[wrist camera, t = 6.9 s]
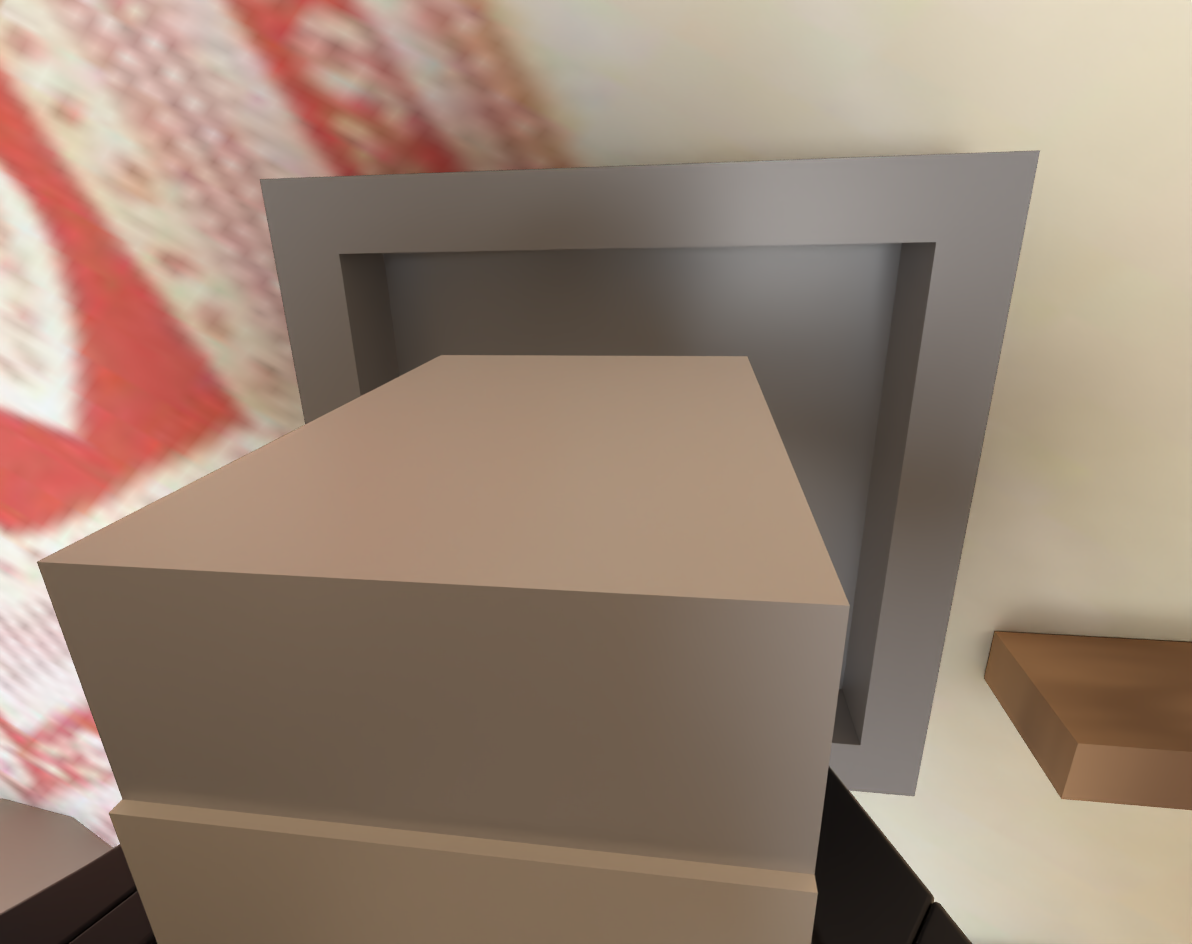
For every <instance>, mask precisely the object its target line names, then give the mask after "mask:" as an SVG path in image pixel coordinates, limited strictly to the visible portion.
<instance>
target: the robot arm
mask: <svg viewBox="0 0 1192 944" xmlns="http://www.w3.org/2000/svg"><path fill="white" fill-rule="evenodd" d="M814 875H815V880H816V886H817V891H818V896H817V903H816V910H815V918H814V925H813V932H812V940H811V944H972V943H971V942H970V940H969V939H968V938H967V937H966V936H965V934H964V933H963V932H962V931H961V929H960V928H959V927H958V926H957V924H956V923H955V922H954V921H953V919H952V918H951V917H950V916H949V914H948V913H947V912H946V911H945V909H944V908H943V907H942V906H941V904H939V903H938V902H934V897H933V895H932V894H931V892H930V891H929V890H928V889H927V887H926V886H925V885H924V884H923V882H922V881H921V880H920V879H919V877H918V876H917V875H916V874H915V872H914V871H913V870H912V869H911V867H910V866H909V865H908V864H907V862H906V861H905V860H904V859H903V857H902V856H901V855H900V854H899V852H898V851H897V850H896V849H895V847H894V846H893V845H892V844H891V842H890V841H889V840H888V839H887V837H886V836H885V835H884V834H883V832H882V831H881V830H880V829H879V827H878V826H877V825H876V824H875V822H874V821H873V820H872V819H871V817H870V816H869V815H868V814H867V812H866V811H865V810H864V809H863V807H862V806H861V805H860V804H859V802H858V801H857V800H856V799H855V797H854V796H853V795H852V794H851V792H850V791H849V790H848V789H847V787H846V786H845V785H844V784H843V782H842V781H841V780H840V779H839V777H838V776H837V775H836V774H835V773H834V771H833V770H832V769H831V768H830V766H829V768H828V775H827V783H826V790H825V798H824V806H823V813H822V821H821V828H820V836H819V844H818V851H817V859H816V866H815V874H814ZM933 902H934V903H933ZM0 944H157V941H156V938H155V936H154V933H153V930H152V928H151V925H150V922H149V920H148V917H147V914H146V912H145V909H144V906H143V903H142V901H141V898H140V895H139V893H138V890H137V887H136V885H135V882H134V879H133V877H132V874H131V871H130V869H129V866H128V863H127V861H126V858H125V855H124V853H123V850H122V847H121V845H120V844H119V845H118V846H116V847H114V848H113V849H111V850H109V851H108V852H106V853H105V854H103V855H101V856H100V857H98V858H96V859H95V860H93V861H91V862H90V863H88V864H86V865H85V866H83V867H81V868H80V869H78V870H76V871H74V872H73V873H71V874H69V875H67V876H66V877H64V878H62V879H60V880H59V881H57V882H55V883H53V884H52V885H50V886H48V887H46V888H45V889H43V890H41V891H39V892H38V893H36V894H34V895H32V896H31V897H29V898H27V899H25V900H23V901H22V902H20V903H18V904H16V905H14V906H13V907H11V908H9V909H7V910H5V911H4V912H2V913H0Z"/></svg>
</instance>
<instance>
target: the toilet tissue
mask: <svg viewBox="0 0 1192 944" xmlns="http://www.w3.org/2000/svg"><path fill="white" fill-rule="evenodd" d="M111 849H113V847H111V846H110V845H109V844H107V843H106V842H105V841H103V840H102V839H101V838H99V837H98V836H97V835H95V834H94V833H93V832H91V831H90V830H89V829H87V828H86V827H85V826H84V825H82V824H81V823H80V822H78V821H77V820H76V819H74V818H73V817H70V816H66V815H62V814H58V813H55V812H51V811H47V810H43V809H40V808H36V807H32V806H28V805H25V804H21V803H17V802H13V801H10V800H6V799H0V913H2V912H4V911H5V910H7V909H9V908H11V907H13V906H14V905H16V904H18V903H20V902H22V901H23V900H25V899H27V898H29V897H31V896H32V895H34V894H36V893H38V892H39V891H41V890H43V889H45V888H46V887H48V886H50V885H52V884H53V883H55V882H57V881H59V880H60V879H62V878H64V877H66V876H67V875H69V874H71V873H73V872H74V871H76V870H78V869H80V868H81V867H83V866H85V865H86V864H88V863H90V862H91V861H93V860H95V859H96V858H98V857H100V856H101V855H103V854H105V853H106V852H108V851H109V850H111Z"/></svg>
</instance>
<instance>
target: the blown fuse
mask: <svg viewBox="0 0 1192 944" xmlns="http://www.w3.org/2000/svg"><path fill="white" fill-rule="evenodd" d="M37 563H38V566H39V569H40V572H41V574H42V577H43V580H44V583H45V585H46V588H47V591H48V594H49V597H50V599H51V602H52V605H53V608H54V610H55V613H56V616H57V619H58V621H59V624H60V627H61V630H62V633H63V635H64V638H65V641H66V644H67V646H68V649H69V652H70V655H71V658H72V660H73V663H74V666H75V669H76V671H77V674H78V677H79V680H80V683H81V685H82V688H83V691H84V694H85V696H86V699H87V702H88V705H89V707H90V710H91V713H92V716H93V719H94V721H95V724H96V727H97V730H98V732H99V735H100V738H101V741H102V744H103V746H104V749H105V752H106V755H107V757H108V760H109V763H110V766H111V769H112V771H113V774H114V777H115V780H116V782H117V785H118V788H119V791H120V793H121V796H122V800H121V801H120V802H119V803H118V804H117V805H116V806H115V807H114V808H113V809H112V810H111V811H110V812H109V815H110V818H111V821H112V823H113V826H114V829H115V831H116V834H117V837H118V839H119V842H120V845H121V847H122V850H123V853H124V855H125V858H126V861H127V863H128V866H129V869H130V871H131V874H132V877H133V879H134V882H135V885H136V887H137V890H138V893H139V895H140V898H141V901H142V903H143V906H144V909H145V912H146V914H147V917H148V920H149V922H150V925H151V928H152V930H153V933H154V936H155V938H156V941H157V944H811V940H812V932H813V925H814V918H815V910H816V903H817V896H818V891H817V886H816V880H815V875H814V874H815V866H816V859H817V851H818V844H819V836H820V828H821V821H822V813H823V806H824V798H825V790H826V783H827V775H828V768H829V760H830V752H831V745H832V737H833V730H834V722H835V714H836V707H837V699H838V692H839V684H840V676H841V669H842V661H843V654H844V646H845V638H846V631H847V623H848V616H849V608H850V605H849V603H848V600H847V598H846V595H845V593H844V590H843V588H842V586H841V583H840V581H839V578H838V576H837V573H836V571H835V568H834V566H833V564H832V561H831V559H830V556H829V554H828V551H827V549H826V547H825V544H824V542H823V539H822V537H821V534H820V532H819V530H818V527H817V525H816V522H815V520H814V517H813V515H812V513H811V510H810V508H809V505H808V503H807V500H806V498H805V496H804V493H803V491H802V488H801V486H800V483H799V481H798V478H797V476H796V474H795V471H794V469H793V466H792V464H791V461H790V459H789V457H788V454H787V452H786V449H785V447H784V444H783V442H782V440H781V437H780V435H779V432H778V430H777V427H776V425H775V423H774V420H773V418H772V415H771V413H770V410H769V408H768V405H767V403H766V401H765V398H764V396H763V393H762V391H761V388H760V386H759V384H758V381H757V379H756V376H755V374H754V371H753V369H752V367H751V364H750V362H749V359H748V357H747V356H556V355H440V356H438V357H436V358H434V359H433V360H431V361H429V362H427V363H425V364H423V365H421V366H419V367H417V368H415V369H413V370H411V371H409V372H407V373H405V374H403V375H401V376H399V377H397V378H395V379H393V380H391V381H390V382H388V383H386V384H384V385H382V386H380V387H378V388H376V389H374V390H372V391H370V392H368V393H366V394H364V395H362V396H360V397H358V398H356V399H354V400H352V401H350V402H349V403H347V404H345V405H343V406H341V407H339V408H337V409H335V410H333V411H331V412H329V413H327V414H325V415H323V416H321V417H319V418H317V419H315V420H313V421H311V422H309V423H307V424H306V425H304V426H302V427H300V428H298V429H296V430H294V431H292V432H290V433H288V434H286V435H284V436H282V437H280V438H278V439H276V440H274V441H272V442H270V443H268V444H266V445H264V446H263V447H261V448H259V449H257V450H255V451H253V452H251V453H249V454H247V455H245V456H243V457H241V458H239V459H237V460H235V461H233V462H231V463H229V464H227V465H225V466H223V467H221V468H220V469H218V470H216V471H214V472H212V473H210V474H208V475H206V476H204V477H202V478H200V479H198V480H196V481H194V482H192V483H190V484H188V485H186V486H184V487H182V488H180V489H178V490H177V491H175V492H173V493H171V494H169V495H167V496H165V497H163V498H161V499H159V500H157V501H155V502H153V503H151V504H149V505H147V506H145V507H143V508H141V509H139V510H137V511H135V512H134V513H132V514H130V515H128V516H126V517H124V518H122V519H120V520H118V521H116V522H114V523H112V524H110V525H108V526H106V527H104V528H102V529H100V530H98V531H96V532H94V533H92V534H91V535H89V536H87V537H85V538H83V539H81V540H79V541H77V542H75V543H73V544H71V545H69V546H67V547H65V548H63V549H61V550H59V551H57V552H55V553H53V554H51V555H49V556H48V557H46V558H44V559H42V560H40V561H38V562H37Z"/></svg>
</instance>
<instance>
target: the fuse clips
mask: <svg viewBox="0 0 1192 944" xmlns="http://www.w3.org/2000/svg"><path fill="white" fill-rule="evenodd" d="M984 679H985V681H986V682H987V684H988V685H989V687H990V688H991V690H992V692H993V693H994V695H995V696H996V698H997V699H998V701H999V702H1000V704H1001V706H1002V707H1003V709H1004V710H1005V712H1006V713H1007V715H1008V716H1009V718H1010V720H1011V721H1012V723H1013V724H1014V726H1015V727H1016V729H1017V730H1018V732H1019V734H1020V735H1021V737H1022V738H1023V740H1024V741H1025V743H1026V744H1027V746H1028V748H1029V749H1030V751H1031V752H1032V754H1033V755H1034V757H1035V758H1036V760H1037V762H1038V763H1039V765H1040V766H1041V768H1042V769H1043V771H1044V772H1045V774H1046V776H1047V777H1048V779H1049V780H1050V782H1051V783H1052V785H1053V786H1054V788H1055V790H1056V791H1057V793H1058V794H1059V796H1060V797H1061V799H1070V800H1081V801H1093V802H1104V803H1116V804H1127V805H1139V806H1150V807H1162V808H1173V809H1185V810H1192V642H1175V641H1157V640H1139V639H1122V638H1104V637H1086V636H1068V635H1050V634H1032V633H1014V632H996V631H995V633H994V637H993V641H992V646H991V650H990V655H989V659H988V664H987V668H986V673H985V677H984Z"/></svg>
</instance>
